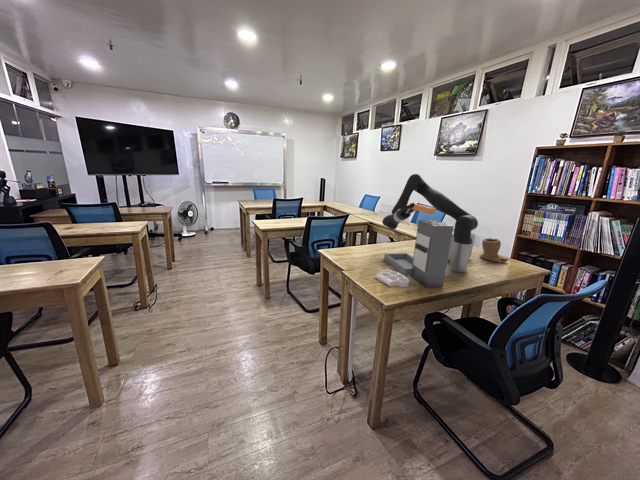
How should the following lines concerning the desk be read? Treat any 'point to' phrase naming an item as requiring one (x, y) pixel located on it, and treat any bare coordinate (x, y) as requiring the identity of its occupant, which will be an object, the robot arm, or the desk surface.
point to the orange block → (424, 209)
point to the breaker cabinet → (431, 253)
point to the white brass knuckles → (392, 278)
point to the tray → (400, 262)
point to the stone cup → (492, 250)
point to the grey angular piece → (453, 243)
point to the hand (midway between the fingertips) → (416, 204)
